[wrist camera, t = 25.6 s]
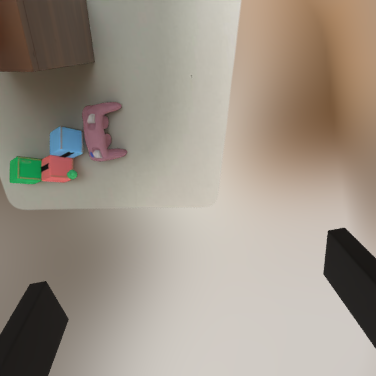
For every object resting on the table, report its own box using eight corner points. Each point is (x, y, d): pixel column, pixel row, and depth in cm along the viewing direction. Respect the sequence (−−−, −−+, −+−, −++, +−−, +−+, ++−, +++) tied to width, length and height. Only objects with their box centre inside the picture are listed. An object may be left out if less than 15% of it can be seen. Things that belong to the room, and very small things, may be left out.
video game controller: (101, 99, 46) (72, 106, 41) (123, 100, 45) (95, 108, 39) (110, 152, 51) (84, 165, 45) (130, 155, 49) (106, 169, 44)
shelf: (85, -7, 38) (0, -67, 19) (94, 62, 42) (33, 71, 23) (-17, -9, 37) (-218, -75, 18) (3, 61, 41) (-142, 71, 22)
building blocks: (56, 147, 53) (84, 130, 45) (56, 187, 52) (85, 177, 44) (10, 139, 47) (33, 118, 39) (9, 184, 46) (32, 172, 38)
